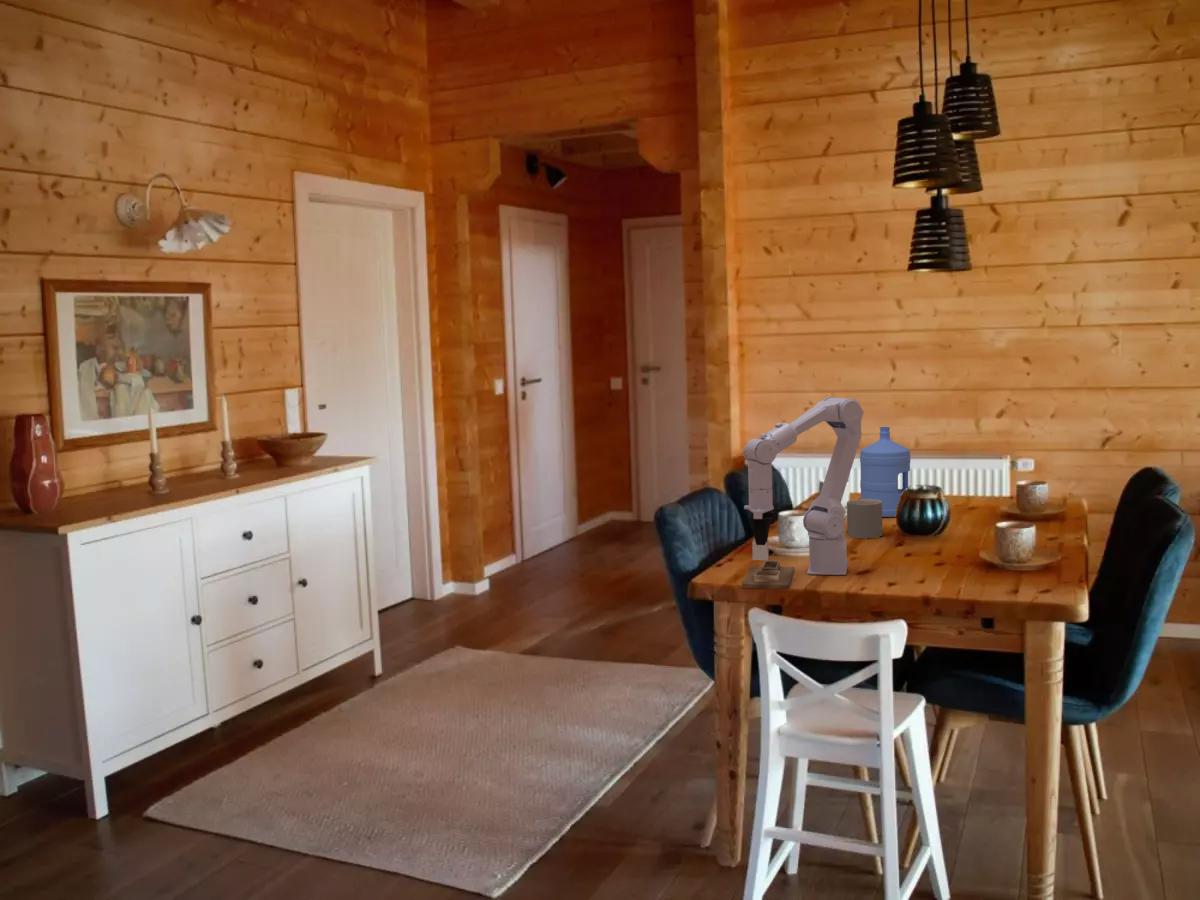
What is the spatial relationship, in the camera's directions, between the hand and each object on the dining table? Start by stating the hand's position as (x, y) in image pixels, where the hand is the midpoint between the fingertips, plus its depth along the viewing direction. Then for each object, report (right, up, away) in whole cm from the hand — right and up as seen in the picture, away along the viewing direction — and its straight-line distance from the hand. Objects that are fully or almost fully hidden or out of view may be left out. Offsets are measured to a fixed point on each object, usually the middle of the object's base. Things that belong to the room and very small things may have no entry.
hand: (761, 543), depth 278 cm
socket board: (+2, -9, +3) cm, 10 cm away
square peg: (0, -4, +1) cm, 4 cm away
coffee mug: (+38, -2, +54) cm, 67 cm away
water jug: (+52, +2, +87) cm, 101 cm away
